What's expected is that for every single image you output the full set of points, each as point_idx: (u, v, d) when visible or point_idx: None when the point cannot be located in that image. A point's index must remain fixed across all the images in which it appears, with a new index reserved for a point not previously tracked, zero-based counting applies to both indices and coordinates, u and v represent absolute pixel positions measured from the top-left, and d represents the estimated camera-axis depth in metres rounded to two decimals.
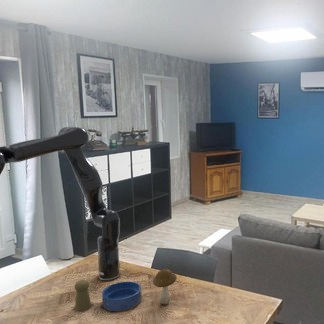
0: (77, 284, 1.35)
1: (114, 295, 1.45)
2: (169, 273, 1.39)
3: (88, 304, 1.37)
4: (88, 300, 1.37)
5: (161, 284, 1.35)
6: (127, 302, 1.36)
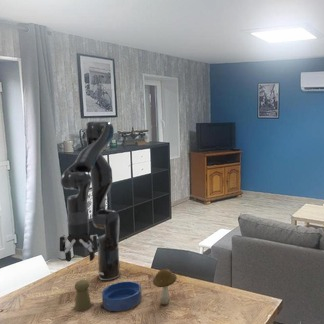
0: (77, 284, 1.35)
1: (114, 295, 1.45)
2: (169, 273, 1.39)
3: (88, 304, 1.37)
4: (88, 300, 1.37)
5: (161, 284, 1.35)
6: (127, 302, 1.36)
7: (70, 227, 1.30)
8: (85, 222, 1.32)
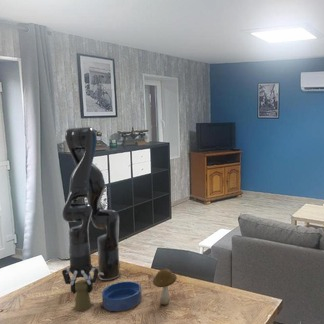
0: (77, 284, 1.35)
1: (114, 295, 1.45)
2: (169, 273, 1.39)
3: (88, 304, 1.37)
4: (88, 300, 1.37)
5: (161, 284, 1.35)
6: (127, 302, 1.36)
7: (72, 259, 1.32)
8: (87, 253, 1.34)
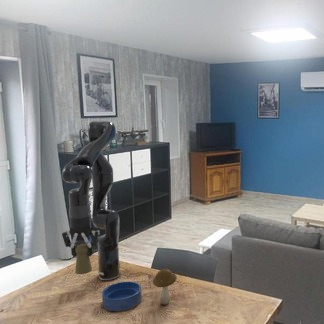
0: (77, 247, 1.33)
1: (114, 295, 1.45)
2: (169, 273, 1.39)
3: (89, 268, 1.36)
4: (89, 264, 1.36)
5: (161, 284, 1.35)
6: (127, 302, 1.36)
7: (72, 221, 1.30)
8: (87, 216, 1.32)
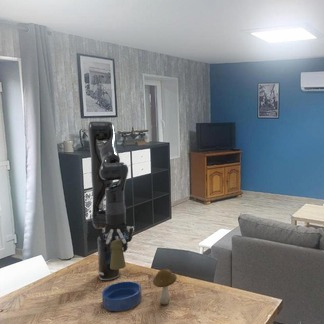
0: (113, 243, 1.37)
1: (114, 295, 1.45)
2: (169, 273, 1.39)
3: (123, 263, 1.39)
4: (123, 259, 1.39)
5: (161, 284, 1.35)
6: (127, 302, 1.36)
7: (108, 217, 1.34)
8: (122, 212, 1.35)
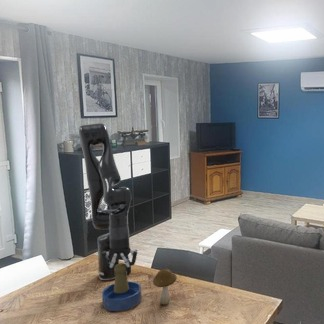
0: (116, 267, 1.38)
1: (114, 295, 1.45)
2: (169, 273, 1.39)
3: (126, 286, 1.40)
4: (126, 283, 1.40)
5: (161, 284, 1.35)
6: (127, 302, 1.36)
7: (112, 242, 1.35)
8: (126, 237, 1.37)
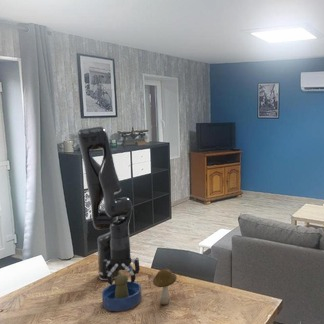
0: (117, 279, 1.39)
1: (114, 295, 1.45)
2: (169, 273, 1.39)
3: None
4: (127, 294, 1.41)
5: (161, 284, 1.35)
6: (127, 302, 1.36)
7: (113, 252, 1.36)
8: (127, 247, 1.38)
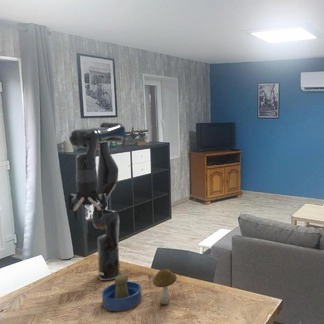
0: (117, 279, 1.39)
1: (114, 295, 1.45)
2: (169, 273, 1.39)
3: None
4: (127, 294, 1.41)
5: (161, 284, 1.35)
6: (127, 302, 1.36)
7: (79, 184, 1.32)
8: (94, 180, 1.33)
